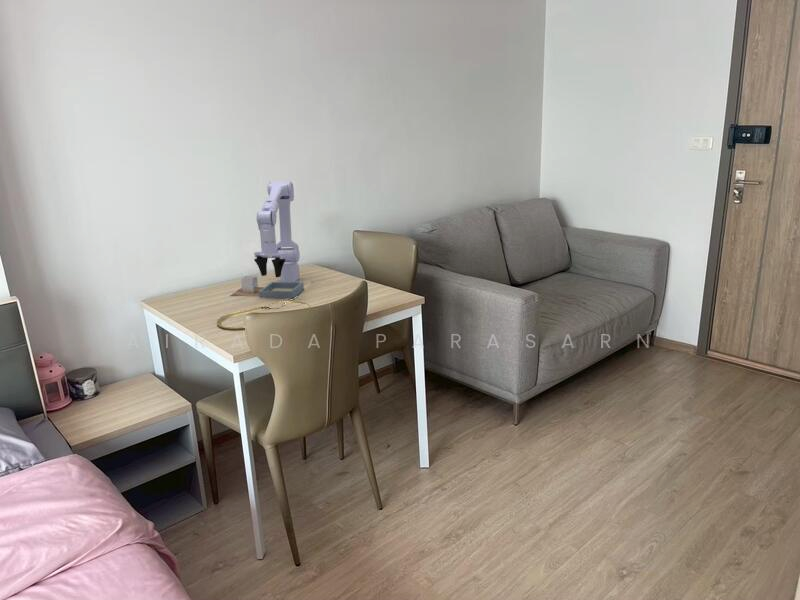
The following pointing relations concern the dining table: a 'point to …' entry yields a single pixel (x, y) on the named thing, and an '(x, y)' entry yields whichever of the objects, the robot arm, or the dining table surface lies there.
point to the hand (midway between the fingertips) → (271, 276)
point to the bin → (296, 287)
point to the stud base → (240, 293)
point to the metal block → (249, 284)
